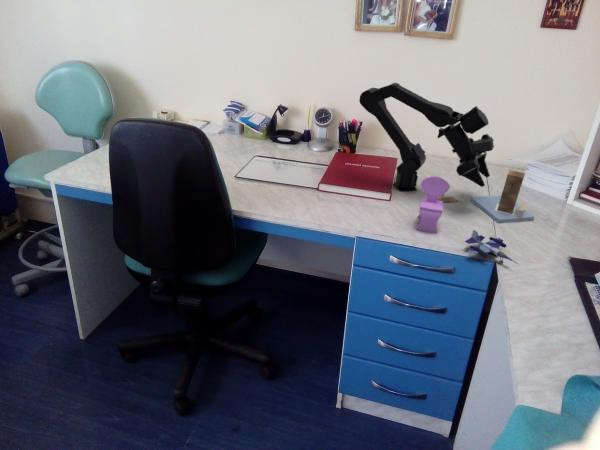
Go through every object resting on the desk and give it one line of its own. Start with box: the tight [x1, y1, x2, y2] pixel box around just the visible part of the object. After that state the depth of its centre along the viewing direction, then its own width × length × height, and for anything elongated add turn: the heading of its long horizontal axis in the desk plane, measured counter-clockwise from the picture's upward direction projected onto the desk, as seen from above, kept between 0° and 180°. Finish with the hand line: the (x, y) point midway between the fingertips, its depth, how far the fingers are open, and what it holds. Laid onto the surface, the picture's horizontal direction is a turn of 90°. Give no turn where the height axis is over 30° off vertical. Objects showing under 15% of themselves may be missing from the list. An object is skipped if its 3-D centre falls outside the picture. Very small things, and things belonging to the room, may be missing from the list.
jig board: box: [470, 194, 535, 224], centre depth 154 cm, size 13×16×4 cm
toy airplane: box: [464, 229, 521, 265], centre depth 128 cm, size 13×14×4 cm
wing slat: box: [437, 196, 459, 204], centre depth 159 cm, size 9×3×1 cm, turn 107°
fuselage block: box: [497, 169, 526, 214], centre depth 149 cm, size 5×5×12 cm
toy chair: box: [415, 175, 451, 234], centre depth 139 cm, size 8×9×15 cm
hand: (485, 181), depth 152 cm, fingers open, 9 cm apart
